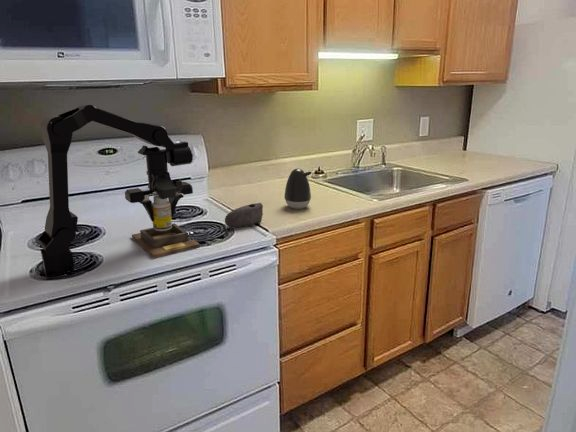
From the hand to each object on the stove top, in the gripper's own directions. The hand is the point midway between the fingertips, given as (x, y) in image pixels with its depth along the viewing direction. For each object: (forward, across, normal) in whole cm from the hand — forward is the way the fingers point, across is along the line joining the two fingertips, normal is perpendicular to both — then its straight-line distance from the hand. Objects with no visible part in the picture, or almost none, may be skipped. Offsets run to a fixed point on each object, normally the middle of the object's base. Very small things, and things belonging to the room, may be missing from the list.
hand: (162, 219), depth 130 cm
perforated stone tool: (+8, +28, -1) cm, 29 cm away
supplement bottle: (+3, 0, 0) cm, 3 cm away
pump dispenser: (+7, +55, +5) cm, 56 cm away
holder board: (+8, 0, 0) cm, 8 cm away
